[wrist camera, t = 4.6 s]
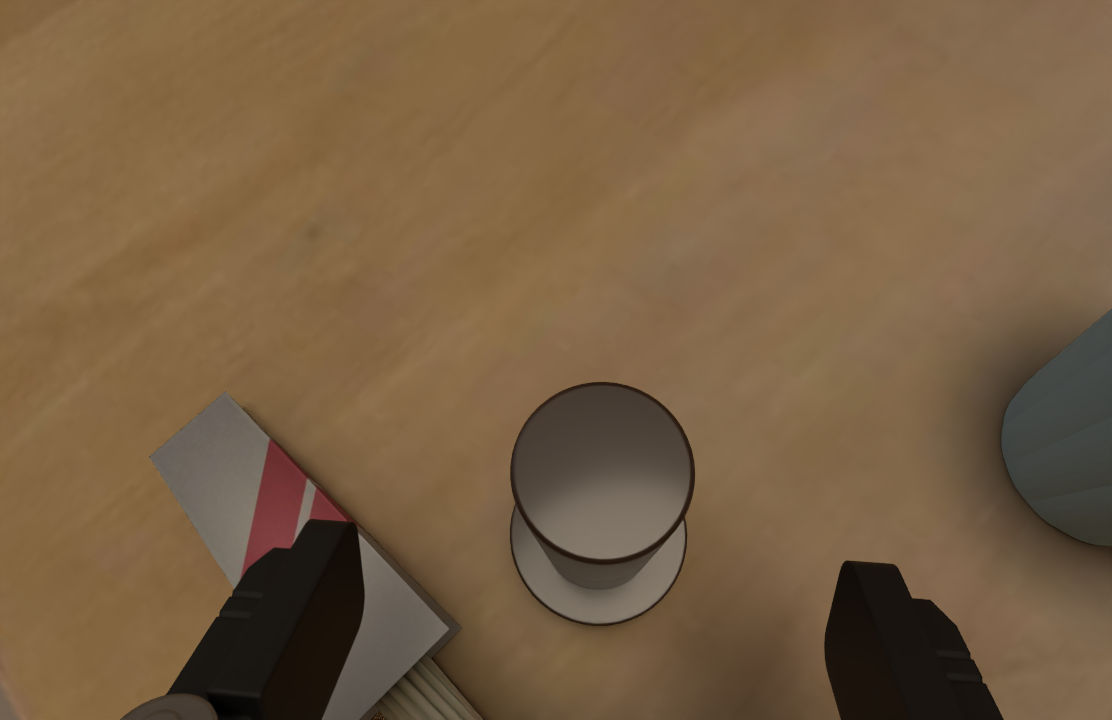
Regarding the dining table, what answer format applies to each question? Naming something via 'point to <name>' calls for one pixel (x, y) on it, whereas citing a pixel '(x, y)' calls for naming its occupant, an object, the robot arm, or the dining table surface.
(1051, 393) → the cup
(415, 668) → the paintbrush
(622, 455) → the grey brown flanged cylinder
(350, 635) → the robot arm
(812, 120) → the dining table surface
